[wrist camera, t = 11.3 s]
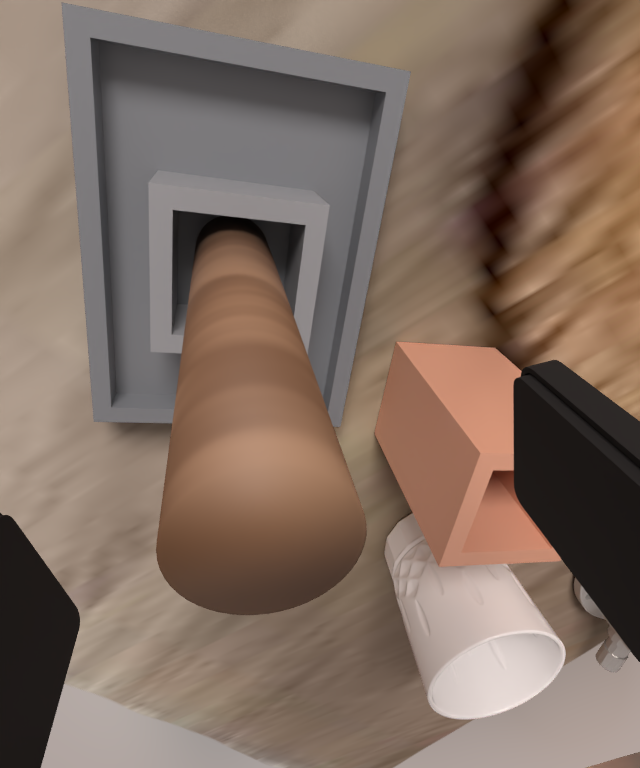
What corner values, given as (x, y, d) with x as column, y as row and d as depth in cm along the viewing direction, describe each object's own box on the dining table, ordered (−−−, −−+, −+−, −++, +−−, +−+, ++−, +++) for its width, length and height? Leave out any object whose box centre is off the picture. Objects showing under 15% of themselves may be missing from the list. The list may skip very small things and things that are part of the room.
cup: (465, 434, 31) (559, 561, 23) (374, 433, 30) (439, 566, 21) (494, 347, 28) (615, 454, 20) (396, 341, 27) (480, 453, 19)
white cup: (360, 575, 36) (406, 723, 28) (398, 491, 33) (463, 630, 24) (455, 579, 38) (525, 717, 30) (499, 501, 35) (592, 632, 26)
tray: (330, 402, 28) (349, 450, 24) (103, 395, 25) (83, 448, 22) (391, 74, 21) (431, 68, 17) (78, 13, 18) (42, -10, 14)
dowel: (264, 289, 23) (347, 608, 9) (194, 283, 23) (156, 620, 8) (272, 219, 22) (385, 464, 7) (196, 210, 21) (155, 462, 7)
